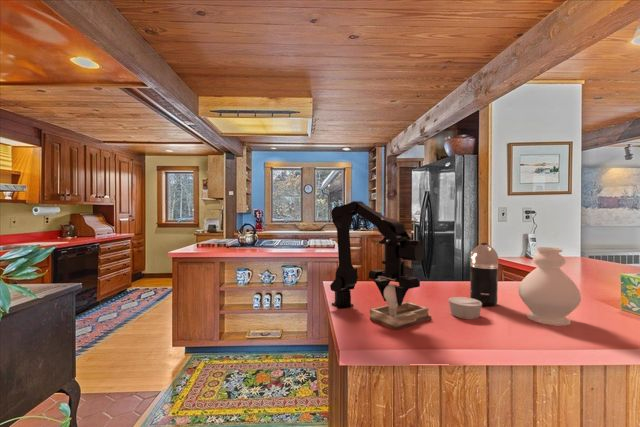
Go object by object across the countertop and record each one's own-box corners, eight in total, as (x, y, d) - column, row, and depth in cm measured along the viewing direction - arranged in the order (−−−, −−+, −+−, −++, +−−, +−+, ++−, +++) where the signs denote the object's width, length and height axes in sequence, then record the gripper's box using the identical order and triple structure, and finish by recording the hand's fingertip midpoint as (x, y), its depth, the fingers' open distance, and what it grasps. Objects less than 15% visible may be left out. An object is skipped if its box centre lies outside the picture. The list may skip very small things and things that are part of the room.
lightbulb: (402, 320, 107) (402, 287, 107) (383, 318, 108) (383, 286, 108) (401, 313, 113) (402, 282, 113) (383, 312, 114) (383, 281, 114)
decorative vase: (566, 332, 101) (567, 253, 100) (508, 316, 116) (509, 247, 115) (589, 322, 110) (590, 249, 110) (532, 308, 125) (533, 244, 125)
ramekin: (476, 323, 110) (476, 307, 109) (443, 315, 117) (443, 301, 117) (485, 315, 118) (486, 300, 118) (454, 308, 125) (454, 295, 125)
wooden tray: (369, 319, 113) (369, 309, 113) (404, 310, 123) (404, 301, 123) (395, 329, 103) (395, 319, 103) (431, 319, 113) (431, 309, 113)
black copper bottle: (470, 305, 129) (471, 243, 129) (469, 298, 139) (469, 240, 138) (499, 308, 125) (500, 244, 125) (496, 301, 135) (496, 241, 134)
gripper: (430, 259, 107) (430, 306, 107) (389, 252, 122) (389, 293, 123) (408, 262, 101) (407, 312, 101) (367, 255, 116) (367, 298, 116)
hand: (392, 303), depth 110 cm, fingers closed on lightbulb, 6 cm apart
